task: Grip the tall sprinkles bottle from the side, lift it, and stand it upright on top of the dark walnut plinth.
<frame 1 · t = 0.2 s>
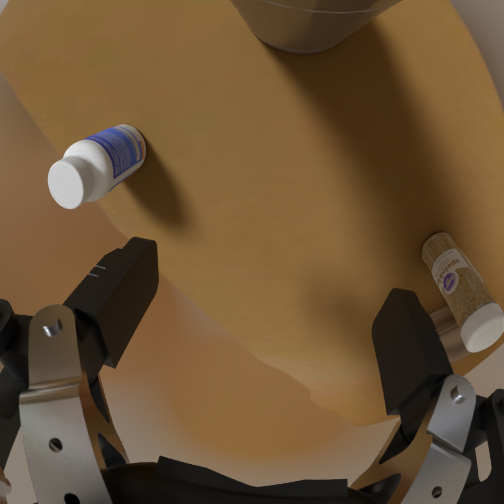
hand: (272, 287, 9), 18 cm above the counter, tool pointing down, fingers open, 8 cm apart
sprinkles bottle: (436, 247, 27), on the counter
walnut plinth: (443, 329, 34), on the counter
pill bottle: (125, 148, 25), on the counter
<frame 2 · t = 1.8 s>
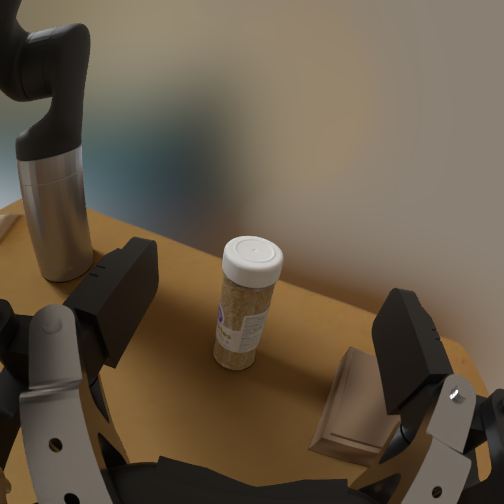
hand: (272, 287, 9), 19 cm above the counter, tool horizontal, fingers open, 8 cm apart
sprinkles bottle: (234, 355, 28), on the counter
walnut plinth: (371, 419, 23), on the counter
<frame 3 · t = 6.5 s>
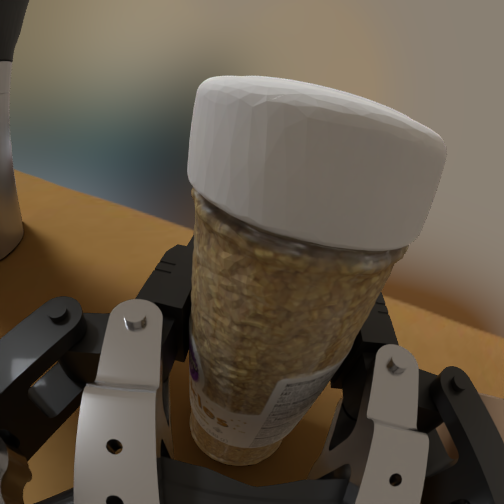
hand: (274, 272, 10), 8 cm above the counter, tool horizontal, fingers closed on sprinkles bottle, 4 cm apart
sprinkles bottle: (237, 428, 11), on the counter, touching gripper
walnut plinth: (481, 500, 6), on the counter
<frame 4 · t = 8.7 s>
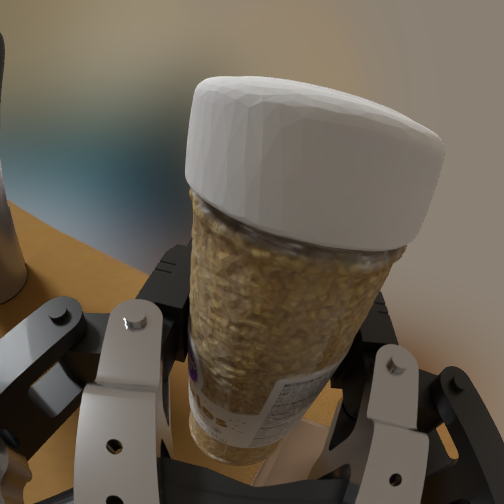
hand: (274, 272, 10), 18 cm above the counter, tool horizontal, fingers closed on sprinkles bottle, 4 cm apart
sprinkles bottle: (236, 428, 11), point 10 cm above the counter, touching gripper
walnut plinth: (315, 498, 15), on the counter
when the fingers open (13 cm above the counter, at t = 11.3 s): sprinkles bottle drops 1 cm, resting on walnut plinth.
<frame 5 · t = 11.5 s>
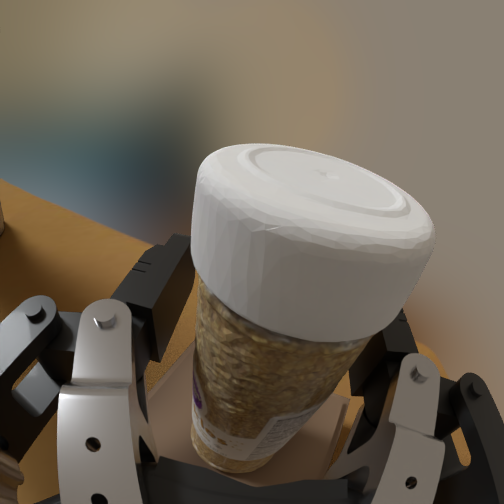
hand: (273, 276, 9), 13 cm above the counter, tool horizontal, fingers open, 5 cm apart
sprinkles bottle: (234, 438, 12), point 4 cm above the counter, touching walnut plinth
walnut plinth: (228, 453, 14), on the counter
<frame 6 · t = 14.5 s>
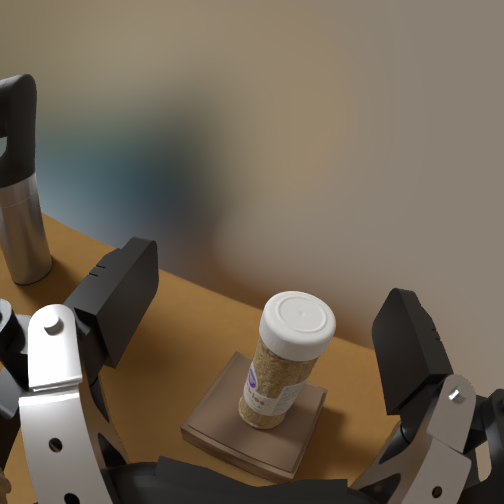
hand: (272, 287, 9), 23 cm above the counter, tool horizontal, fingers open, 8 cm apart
sprinkles bottle: (261, 411, 23), point 4 cm above the counter, touching walnut plinth
walnut plinth: (255, 424, 25), on the counter
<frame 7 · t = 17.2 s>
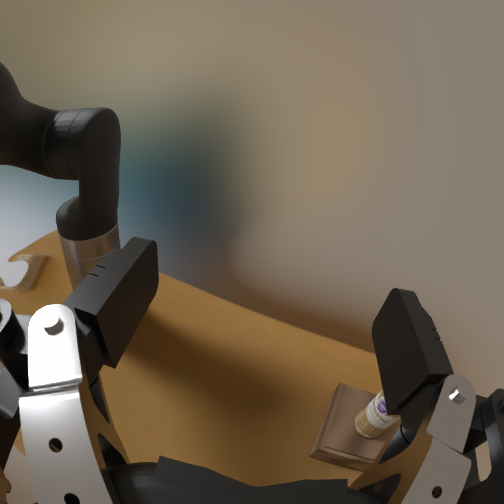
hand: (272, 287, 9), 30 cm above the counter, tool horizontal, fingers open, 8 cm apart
sprinkles bottle: (368, 425, 29), point 4 cm above the counter, touching walnut plinth
walnut plinth: (355, 434, 31), on the counter
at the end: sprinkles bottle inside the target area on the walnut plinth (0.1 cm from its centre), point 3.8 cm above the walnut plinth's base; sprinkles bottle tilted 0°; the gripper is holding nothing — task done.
